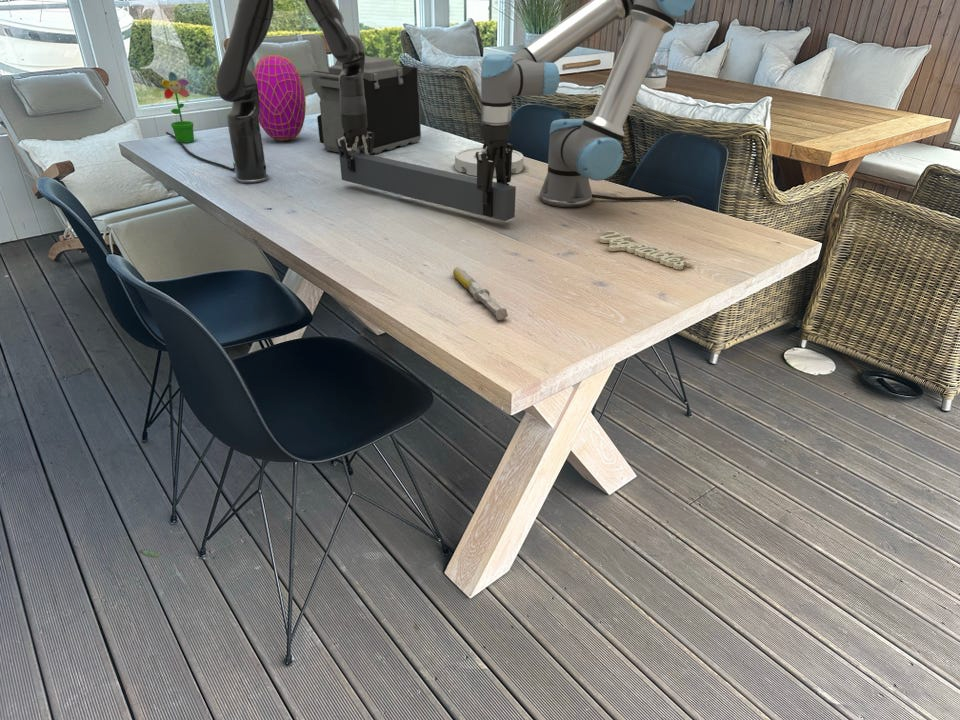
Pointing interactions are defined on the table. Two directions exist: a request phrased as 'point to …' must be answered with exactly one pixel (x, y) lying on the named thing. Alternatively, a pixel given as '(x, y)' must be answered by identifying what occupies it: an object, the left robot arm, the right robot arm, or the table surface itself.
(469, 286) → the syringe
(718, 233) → the table surface
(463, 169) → the ashtray
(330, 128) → the grey tool box
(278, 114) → the decorative egg
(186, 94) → the potted flower
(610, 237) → the decorative sign
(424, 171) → the bar
